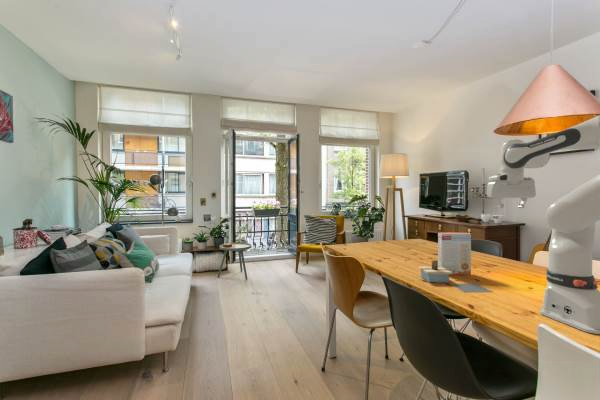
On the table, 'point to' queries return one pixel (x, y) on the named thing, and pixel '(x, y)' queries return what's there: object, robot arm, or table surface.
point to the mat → (471, 287)
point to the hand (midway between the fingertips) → (510, 208)
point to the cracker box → (455, 252)
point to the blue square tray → (435, 277)
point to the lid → (435, 269)
